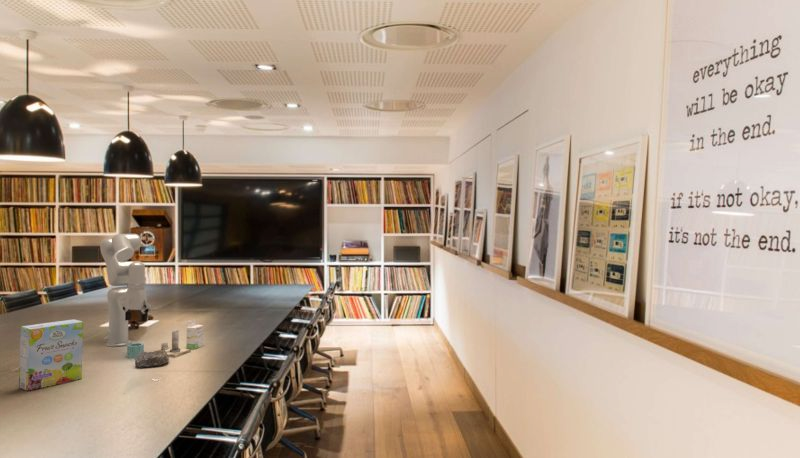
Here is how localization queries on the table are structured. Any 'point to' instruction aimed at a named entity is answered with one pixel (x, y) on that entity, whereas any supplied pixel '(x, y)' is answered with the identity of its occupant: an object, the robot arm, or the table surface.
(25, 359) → the snack box
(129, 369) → the table surface
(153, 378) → the paper
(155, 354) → the rock
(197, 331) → the ink box
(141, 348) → the ring
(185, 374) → the table surface
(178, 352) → the board
